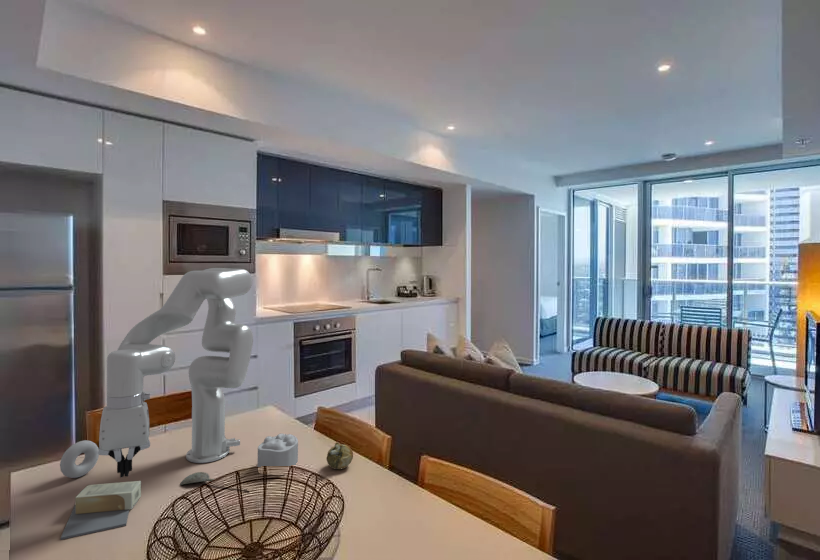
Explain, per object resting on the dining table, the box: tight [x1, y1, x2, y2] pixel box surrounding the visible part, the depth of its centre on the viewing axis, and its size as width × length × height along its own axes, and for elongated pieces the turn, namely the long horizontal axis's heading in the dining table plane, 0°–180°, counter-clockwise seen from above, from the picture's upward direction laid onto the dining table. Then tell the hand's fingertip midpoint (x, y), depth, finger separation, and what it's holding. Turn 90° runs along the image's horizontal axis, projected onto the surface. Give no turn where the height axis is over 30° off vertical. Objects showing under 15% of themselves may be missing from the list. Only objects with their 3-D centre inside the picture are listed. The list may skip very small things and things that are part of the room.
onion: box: [326, 441, 354, 470], centre depth 131 cm, size 8×8×8 cm
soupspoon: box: [179, 471, 215, 486], centre depth 119 cm, size 22×3×7 cm
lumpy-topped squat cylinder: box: [256, 433, 299, 467], centre depth 132 cm, size 10×13×9 cm
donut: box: [59, 439, 100, 479], centre depth 122 cm, size 10×4×10 cm, turn 161°
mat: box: [60, 505, 130, 541], centre depth 104 cm, size 12×16×1 cm
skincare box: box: [74, 480, 142, 514], centre depth 107 cm, size 6×4×12 cm
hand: (124, 474), depth 106 cm, fingers closed
